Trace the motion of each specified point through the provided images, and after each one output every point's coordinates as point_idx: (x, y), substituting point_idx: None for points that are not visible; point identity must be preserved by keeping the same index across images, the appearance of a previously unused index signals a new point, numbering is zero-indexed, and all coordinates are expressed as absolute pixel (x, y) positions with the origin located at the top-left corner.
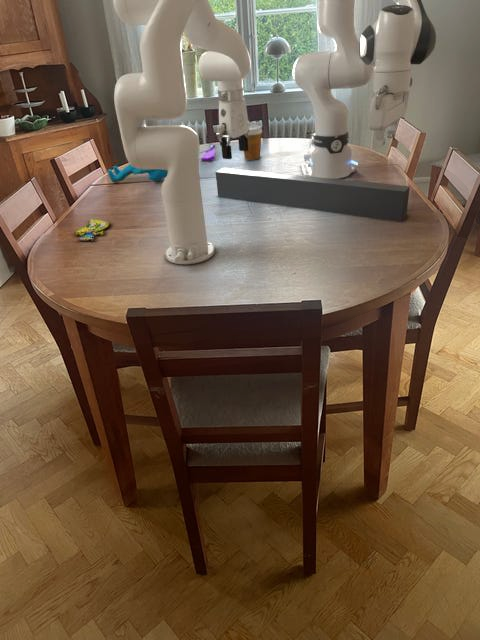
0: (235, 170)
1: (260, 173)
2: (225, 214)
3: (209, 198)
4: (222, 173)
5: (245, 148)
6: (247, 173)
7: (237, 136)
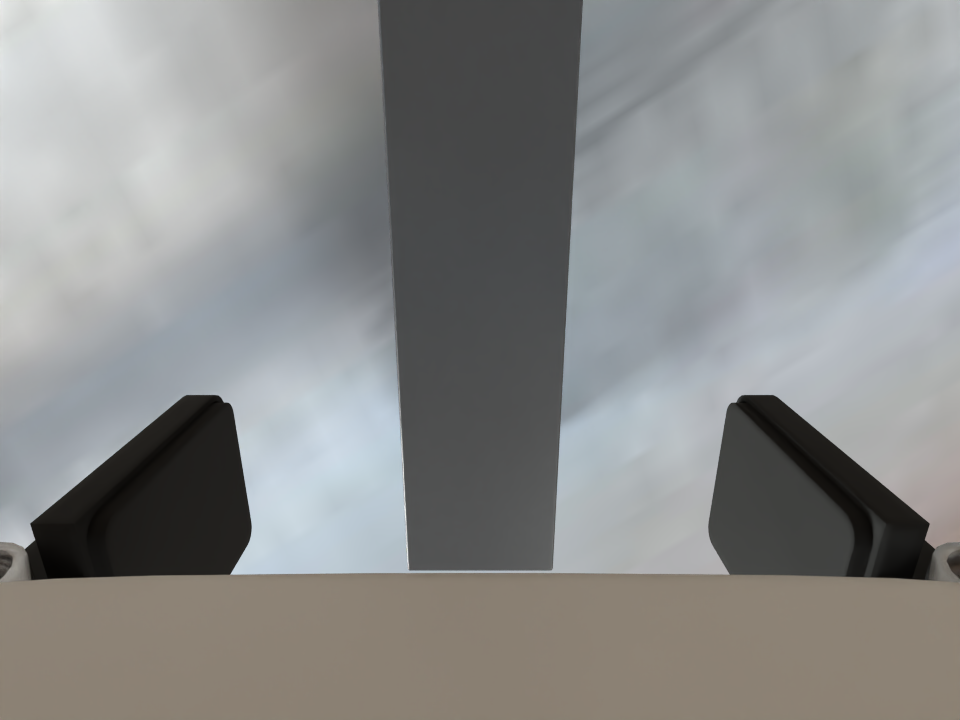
0: (449, 405)
1: (461, 12)
2: (868, 179)
3: (576, 481)
4: (554, 491)
5: (217, 441)
6: (513, 198)
7: (799, 577)
